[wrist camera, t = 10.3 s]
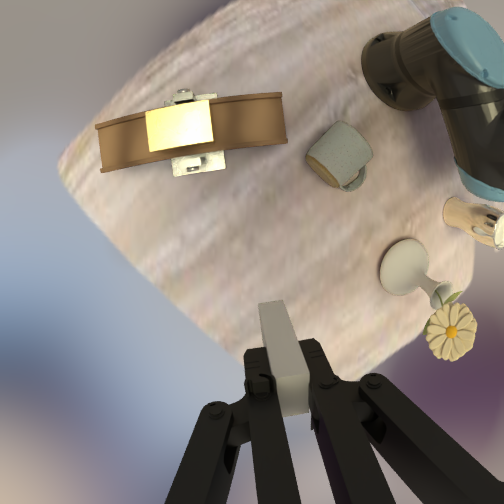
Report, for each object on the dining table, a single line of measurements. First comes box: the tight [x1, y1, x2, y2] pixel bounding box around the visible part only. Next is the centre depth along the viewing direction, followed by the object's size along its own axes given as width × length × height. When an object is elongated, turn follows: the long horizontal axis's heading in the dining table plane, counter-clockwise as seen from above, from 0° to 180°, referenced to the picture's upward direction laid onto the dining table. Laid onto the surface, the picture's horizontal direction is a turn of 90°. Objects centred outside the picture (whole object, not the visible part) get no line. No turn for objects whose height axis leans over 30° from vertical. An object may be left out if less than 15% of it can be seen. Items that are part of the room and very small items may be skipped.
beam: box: [95, 92, 288, 173], centre depth 34 cm, size 24×7×2 cm, turn 96°
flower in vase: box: [380, 239, 477, 361], centre depth 40 cm, size 13×11×25 cm
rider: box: [145, 100, 216, 152], centre depth 31 cm, size 7×5×5 cm, turn 97°
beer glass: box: [443, 197, 504, 250], centre depth 42 cm, size 7×7×15 cm
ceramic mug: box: [306, 121, 373, 192], centre depth 41 cm, size 11×8×8 cm
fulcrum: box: [164, 89, 226, 177], centre depth 37 cm, size 24×12×9 cm, turn 96°
